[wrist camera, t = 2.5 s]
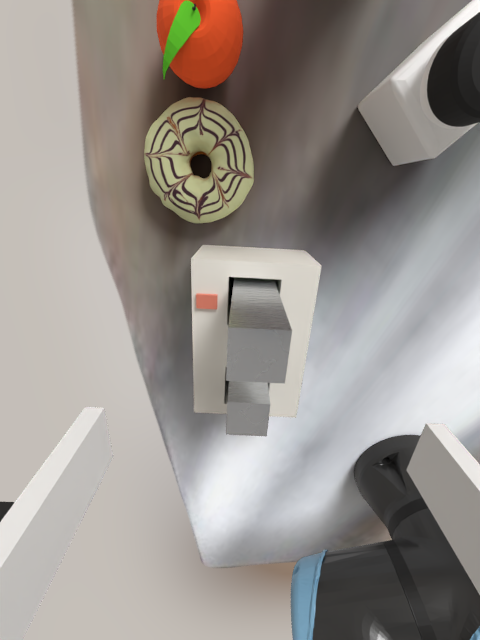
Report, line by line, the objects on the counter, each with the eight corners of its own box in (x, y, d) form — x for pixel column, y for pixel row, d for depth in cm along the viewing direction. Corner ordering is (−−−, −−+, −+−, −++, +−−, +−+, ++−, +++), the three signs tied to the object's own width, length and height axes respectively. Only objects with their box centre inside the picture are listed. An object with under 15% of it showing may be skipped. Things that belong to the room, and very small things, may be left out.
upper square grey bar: (266, 298, 35) (284, 383, 19) (234, 296, 35) (226, 380, 19) (269, 266, 34) (292, 330, 18) (235, 264, 34) (227, 327, 18)
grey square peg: (260, 364, 40) (266, 436, 28) (231, 362, 40) (226, 434, 28) (262, 338, 38) (270, 404, 26) (232, 337, 38) (227, 401, 26)
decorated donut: (197, 239, 33) (191, 244, 30) (132, 154, 30) (117, 149, 26) (271, 180, 31) (274, 179, 27) (209, 80, 27) (204, 64, 24)
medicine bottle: (392, 168, 30) (478, 152, 19) (355, 106, 28) (427, 48, 17) (457, 113, 28) (596, 59, 17) (422, 42, 26) (555, -72, 15)
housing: (304, 250, 33) (322, 266, 26) (286, 377, 41) (296, 420, 33) (202, 244, 33) (190, 259, 26) (203, 373, 40) (193, 414, 33)
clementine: (203, 126, 29) (191, 105, 22) (147, 66, 27) (115, 25, 20) (258, 50, 26) (263, 2, 20) (201, -21, 24) (185, -100, 18)
